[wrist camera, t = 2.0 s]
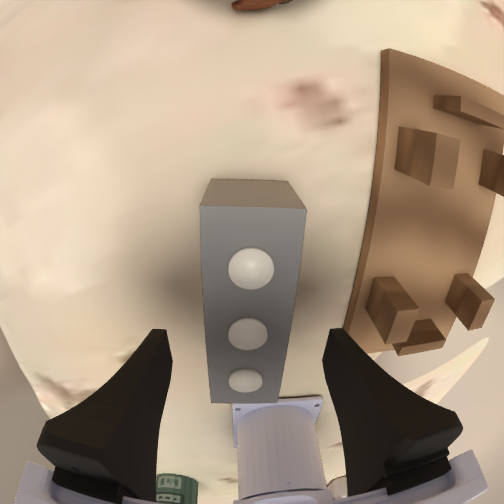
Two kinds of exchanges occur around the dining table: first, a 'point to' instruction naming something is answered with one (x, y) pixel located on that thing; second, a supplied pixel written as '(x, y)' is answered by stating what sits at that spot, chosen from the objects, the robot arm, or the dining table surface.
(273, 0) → the brown open ring
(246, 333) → the power strip
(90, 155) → the dining table surface
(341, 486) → the charger
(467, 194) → the rack
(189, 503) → the can
